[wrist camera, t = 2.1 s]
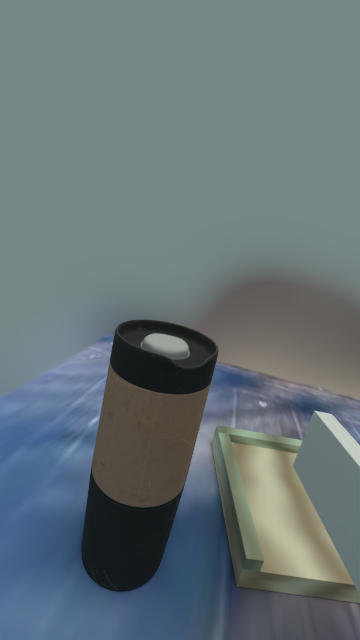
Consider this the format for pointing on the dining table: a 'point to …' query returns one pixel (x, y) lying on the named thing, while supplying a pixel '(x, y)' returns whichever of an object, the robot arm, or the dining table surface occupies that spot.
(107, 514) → the travel mug
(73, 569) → the dining table surface
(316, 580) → the tray
